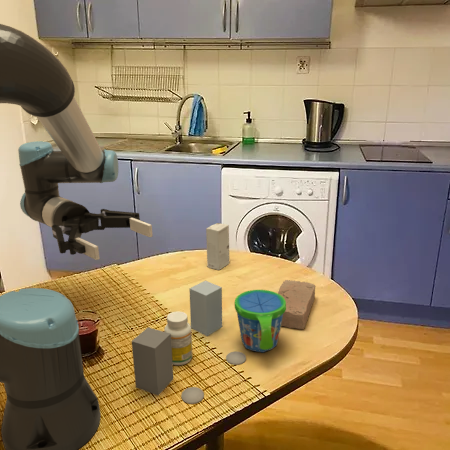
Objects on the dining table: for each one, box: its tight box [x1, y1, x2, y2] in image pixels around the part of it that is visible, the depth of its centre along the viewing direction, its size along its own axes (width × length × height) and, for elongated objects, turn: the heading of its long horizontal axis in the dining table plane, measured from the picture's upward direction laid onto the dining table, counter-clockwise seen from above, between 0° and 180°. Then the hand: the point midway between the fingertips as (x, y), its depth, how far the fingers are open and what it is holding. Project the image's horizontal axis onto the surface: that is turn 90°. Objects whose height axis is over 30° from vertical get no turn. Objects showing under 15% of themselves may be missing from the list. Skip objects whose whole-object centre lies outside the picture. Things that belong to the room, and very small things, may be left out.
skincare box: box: [205, 222, 230, 271], centre depth 132 cm, size 6×4×12 cm
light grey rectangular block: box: [189, 280, 223, 337], centre depth 102 cm, size 5×5×10 cm
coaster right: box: [225, 350, 247, 366], centre depth 92 cm, size 4×4×1 cm
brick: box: [277, 279, 316, 330], centre depth 109 cm, size 17×8×5 cm, turn 160°
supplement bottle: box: [163, 310, 193, 366], centre depth 91 cm, size 5×5×10 cm
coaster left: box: [180, 386, 205, 405], centre depth 82 cm, size 4×4×1 cm
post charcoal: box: [131, 327, 174, 396], centre depth 84 cm, size 5×5×10 cm
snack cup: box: [234, 289, 286, 353], centre depth 96 cm, size 16×10×10 cm
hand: (125, 241), depth 93 cm, fingers open, 13 cm apart
